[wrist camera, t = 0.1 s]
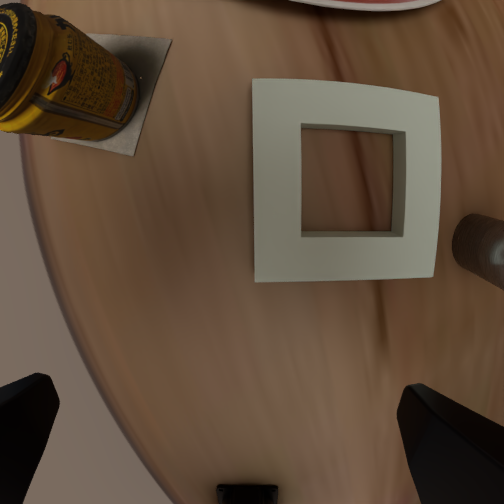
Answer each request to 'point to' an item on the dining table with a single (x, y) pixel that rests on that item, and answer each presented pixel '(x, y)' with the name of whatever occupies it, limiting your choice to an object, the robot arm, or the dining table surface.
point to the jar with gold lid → (481, 247)
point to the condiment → (74, 80)
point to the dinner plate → (371, 4)
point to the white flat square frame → (289, 181)
